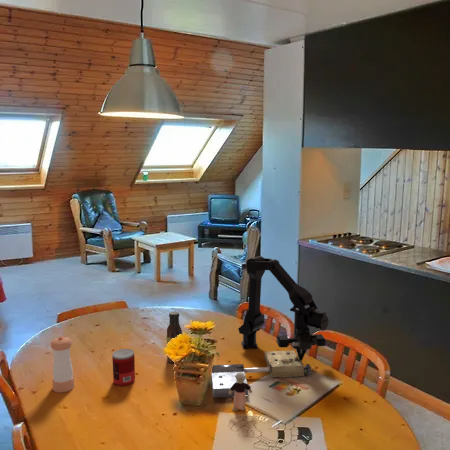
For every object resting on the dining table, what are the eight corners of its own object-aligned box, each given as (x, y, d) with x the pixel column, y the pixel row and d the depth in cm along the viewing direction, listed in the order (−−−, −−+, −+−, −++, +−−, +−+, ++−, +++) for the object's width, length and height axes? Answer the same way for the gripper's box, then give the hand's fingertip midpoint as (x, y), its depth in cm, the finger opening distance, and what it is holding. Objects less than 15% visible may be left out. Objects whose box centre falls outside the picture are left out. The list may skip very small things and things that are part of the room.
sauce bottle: (179, 364, 186) (179, 316, 183) (164, 363, 187) (163, 315, 184) (184, 357, 192) (183, 310, 189) (169, 356, 194) (169, 309, 190)
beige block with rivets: (264, 358, 191) (264, 348, 190) (293, 357, 192) (294, 347, 191) (271, 377, 175) (272, 366, 174) (303, 376, 176) (303, 365, 175)
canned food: (139, 377, 175) (138, 350, 173) (127, 388, 168) (126, 359, 166) (121, 374, 178) (120, 347, 176) (109, 384, 170) (108, 356, 168)
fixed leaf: (211, 375, 177) (210, 363, 177) (308, 371, 180) (308, 359, 180) (213, 397, 161) (213, 384, 160) (320, 393, 164) (320, 380, 163)
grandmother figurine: (231, 413, 151) (231, 376, 149) (227, 407, 155) (227, 371, 153) (253, 410, 154) (253, 373, 152) (249, 404, 157) (249, 368, 155)
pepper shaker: (54, 394, 163) (51, 342, 160) (51, 385, 170) (48, 334, 167) (76, 389, 167) (73, 338, 164) (72, 380, 173) (69, 331, 170)
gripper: (282, 332, 176) (281, 371, 178) (331, 330, 177) (329, 369, 180) (276, 321, 186) (275, 358, 189) (322, 320, 188) (321, 356, 191)
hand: (300, 361), depth 187 cm, fingers closed
